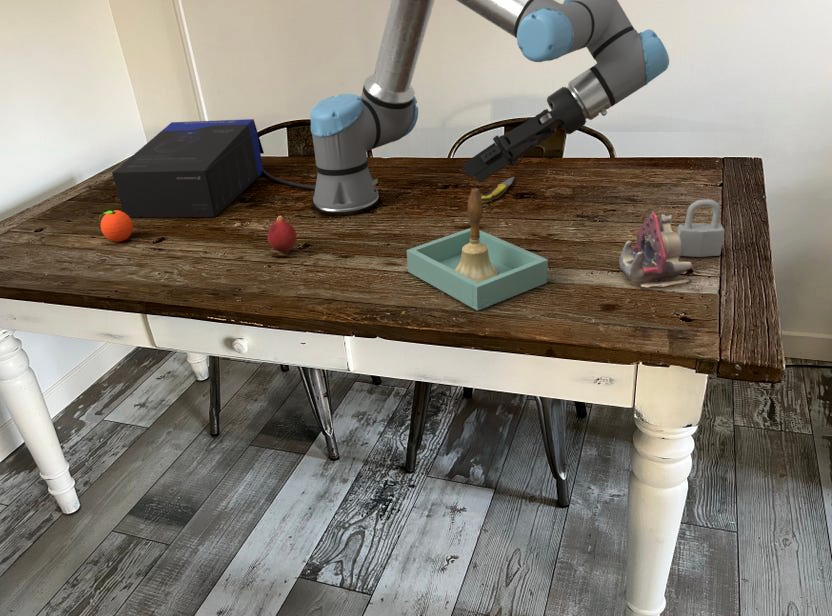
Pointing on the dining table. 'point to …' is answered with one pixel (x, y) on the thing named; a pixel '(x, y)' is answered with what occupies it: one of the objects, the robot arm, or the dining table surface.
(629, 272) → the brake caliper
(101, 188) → the dining table surface
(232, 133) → the headphone box
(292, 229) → the onion
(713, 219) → the padlock
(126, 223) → the clementine
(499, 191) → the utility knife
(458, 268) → the hand bell
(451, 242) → the open box
